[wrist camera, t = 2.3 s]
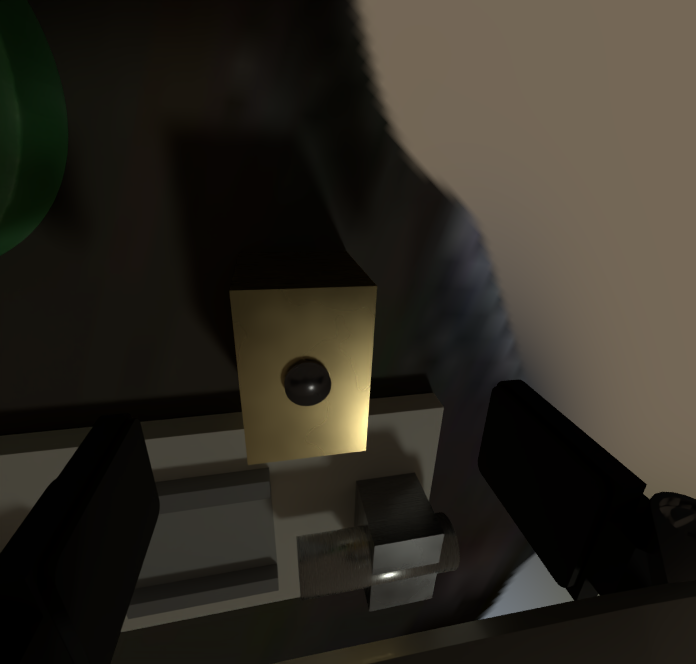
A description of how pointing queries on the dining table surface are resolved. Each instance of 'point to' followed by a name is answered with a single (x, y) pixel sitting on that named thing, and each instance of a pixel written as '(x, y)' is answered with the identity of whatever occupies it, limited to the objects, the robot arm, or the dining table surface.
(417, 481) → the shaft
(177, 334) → the dining table surface
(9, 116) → the tape roll
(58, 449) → the mounting base plate
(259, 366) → the tan box with knob
